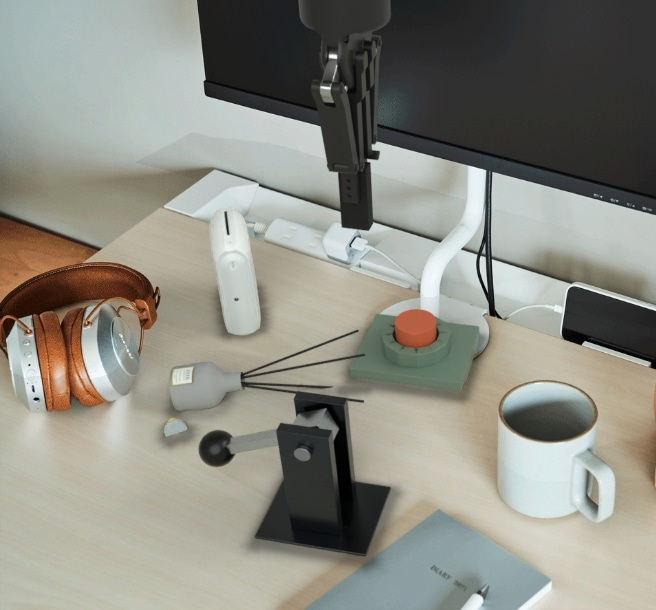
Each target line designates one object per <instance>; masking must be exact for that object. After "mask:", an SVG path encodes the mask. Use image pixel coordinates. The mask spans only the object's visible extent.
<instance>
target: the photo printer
mask: <svg viewBox="0 0 656 610" xmlns="http://www.w3.org/2000/svg"><path fill="white" fill-rule="evenodd" d="M208 225H209V227H208V237H209V238H208V239H209V246H210V253H211V261H212V263H213V268H214V274H215V279H216V284H217V289H218V296H219V300H220V306H221V311H222V317H223V322H224V325H225V328H226V331H227V333H228V334H231V335H235V336H247V335H251V334H253V333H255V332H257V330H260V328H261V320H262V319H261V307H260V300H259V291H258V285H257V284H258V283H257V276H256V271H255V266H254V259H253V253H252V248H251V242H250V235H249V230H248V226H247V222H246V219H245V218H244V216H243V215H242V213H240V212H239V211H238V210H237V209H236V208H233V207H228V208H218V209H217V210H216V211H215V212H214V213H213V215H212V216H211V218H210V221H209V224H208Z"/></svg>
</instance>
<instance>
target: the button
mask: <svg viewBox="0 0 656 610" xmlns="http://www.w3.org/2000/svg"><path fill="white" fill-rule="evenodd" d="M396 316H397V317H396V319H395V336H396V340H397V342H398V343H399V344H401V345H402V346H404V347H411V348H419V347H424V346H429V345H430V344H432V343H433V342H434V341H435V339H436V318H435V317H436V315H434V314H433V313H432V312H430V311H429V310H425V309H419V308H412V309H407V310H404V311H402V312H400V313H399V314H398V315H396Z"/></svg>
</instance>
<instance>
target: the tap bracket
mask: <svg viewBox="0 0 656 610" xmlns="http://www.w3.org/2000/svg"><path fill="white" fill-rule="evenodd" d="M296 391H297V393H296V394H294V396H293V404H294V411H295V412H294V413H295V417H297V415H298V414H299V413H304V412H309V411H314V410H319V409H324V408H327V410H328V412H329V413H330V415H331V416H332V418H333V420H334V421H335V423H336V425H337V426H338V428H339V430H338V432H337V434H336V437H335V439H334V441H333V434H332V430H327V429H321V428H314V427H307V426H300V425H293V423H285V422H280V423H279V424H278V426H277V428H276V429H277V430H276V434H277V440H278V452H279V453H278V454H279V459H280V465H281V470H282V471H281V472H282V476H283V480H282V482H281V484H280V486H279V488H278V490H277V491H276V494H275V496H274V498H273V500H272V502H271V503H270V505H269V508H268V509H267V511H266V512H265V516H264V518H263V519H262V521H261V523H260V526H259V527H258V529H257V531H256V534H255V535H254V539H256V540H261V541H262V540H263V541H268V542H275V543H279V544H280V543H281V544H286V545H293V546H298V547H303V548H310V549H318V550H323V551H329V552H334V553H335V552H336V553H341V554H347V555H353V556H359V557H367V555H368V553H369V549H370V547H371V544H372V542H373V539H374V537H375V533H376V530H377V528H378V525H379V523H380V520H381V517H382V514H383V513H384V512H383V511H384V509H385V506H386V503H387V501H388V498H389V495H390V493H391V489H392V487H391V486H387V485H380V484H373V483H369V482H368V483H367V482H361V481H356V474H355V464H354V454H353V442H352V431H351V423H350V422H351V421H350V412H349V410H350V409H349V401H348V399H347V398H348V397H344V396H338V395H337V396H336V395H329V394H323V393H317V392H316V393H315V392H308V391H301V390H296Z"/></svg>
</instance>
